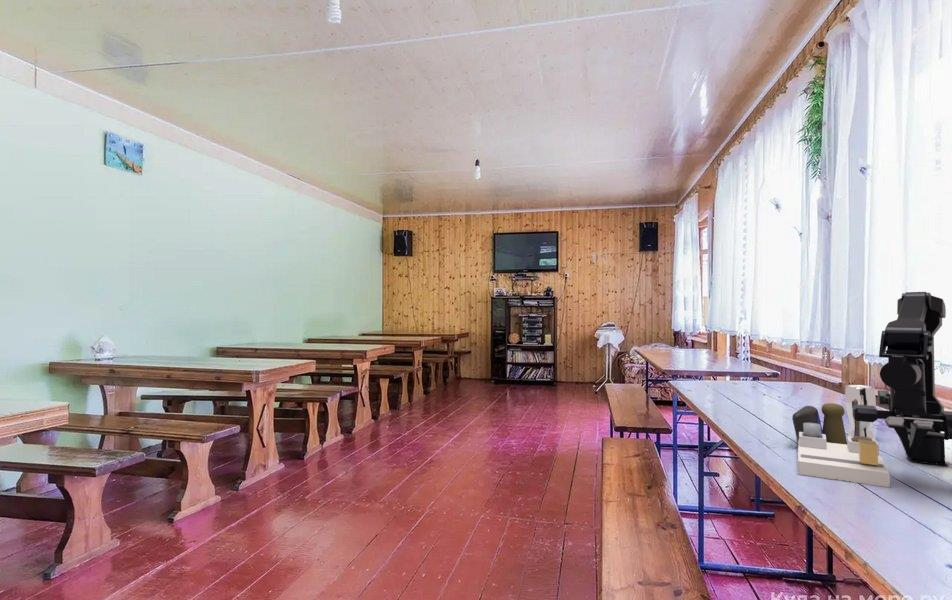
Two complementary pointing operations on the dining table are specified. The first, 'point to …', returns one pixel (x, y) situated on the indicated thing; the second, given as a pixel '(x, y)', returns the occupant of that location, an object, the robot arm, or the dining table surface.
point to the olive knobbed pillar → (834, 423)
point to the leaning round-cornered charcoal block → (805, 418)
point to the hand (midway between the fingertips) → (909, 457)
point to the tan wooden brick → (868, 452)
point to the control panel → (838, 461)
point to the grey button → (812, 430)
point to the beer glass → (859, 397)
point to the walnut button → (860, 438)
